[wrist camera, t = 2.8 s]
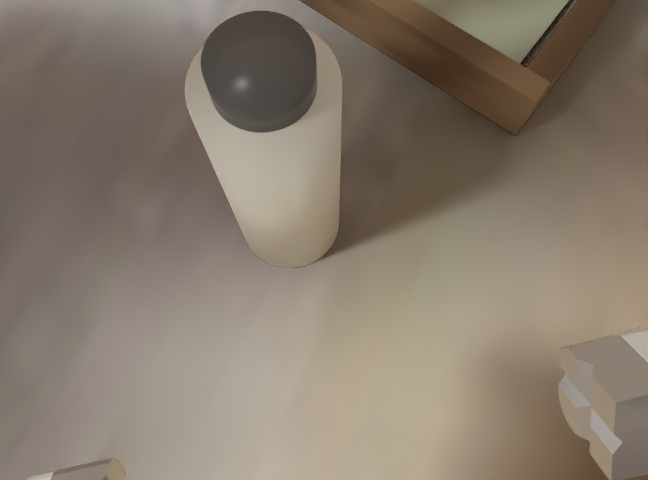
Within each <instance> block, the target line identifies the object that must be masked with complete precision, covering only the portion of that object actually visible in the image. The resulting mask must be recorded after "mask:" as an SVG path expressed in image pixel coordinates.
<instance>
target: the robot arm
mask: <svg viewBox="0 0 648 480" xmlns="http://www.w3.org/2000/svg"><path fill="white" fill-rule="evenodd" d="M558 366H559V367H560V368H561V370H562V371H563V372H564V373H565V375H564V377H563V378H562V380H561V381H560V383H559V384H558V393H559V402H560V405H561V409H562V412H563V415H564V417H565V419H566V421H567V422H568V424H569V426H570V427H571V429H572V430H573V431H574V433H575V434H576V435H577V436H579V437H581V438H584V439H586V440H588V441H590V455H591V456H592V458H593V459H594V460H595V462H596V463H597V464H598V466H599V467H600V468H601V470H602V471H603V472H604V474H605V475H606V476H607V478H608V479H609V480H625V479H629V478H634V477H638V476H643V475H647V474H648V331H647V330H646V329H643V328H640V327H639V328H635V329H631V330H627V331H624V332H620V333H616V334H613V335H611V336H606V337H602V338H598V339H594V340H590V341H586V342H582V343H578V344H574V345H570V346H567V347H563V348H561V349H560V352H559V354H558ZM124 477H125V471H124V469H123V467H122V465H121V463H120V461H119V459H116V458H110V459H105V460H100V461H96V462H91V463H87V464H82V465H78V466H73V467H69V468H64V469H60V470H57V471H54V472H49V473H44V474H40V475H35V476H30V477H28V478H27V479H26V480H124Z"/></svg>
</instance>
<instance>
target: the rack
mask: <svg viewBox="0 0 648 480" xmlns="http://www.w3.org/2000/svg"><path fill="white" fill-rule="evenodd" d="M300 1H301V2H303V3H305V4H306V5H308V6H309V7H311V8H313V9H314V10H316V11H317V12H319V13H320V14H322V15H324V16H325V17H327V18H328V19H330V20H332V21H333V22H335V23H336V24H338V25H340V26H341V27H343V28H344V29H346V30H348V31H349V32H351V33H352V34H354V35H356V36H357V37H359V38H360V39H362V40H364V41H365V42H367V43H368V44H370V45H372V46H373V47H375V48H376V49H378V50H379V51H381V52H383V53H384V54H386V55H387V56H389V57H391V58H392V59H394V60H395V61H397V62H399V63H400V64H402V65H403V66H405V67H407V68H408V69H410V70H411V71H413V72H415V73H416V74H418V75H419V76H421V77H423V78H424V79H426V80H427V81H429V82H431V83H432V84H434V85H435V86H437V87H439V88H440V89H442V90H443V91H445V92H446V93H448V94H450V95H451V96H453V97H454V98H456V99H458V100H459V101H461V102H462V103H464V104H466V105H467V106H469V107H470V108H472V109H474V110H475V111H477V112H478V113H480V114H482V115H483V116H485V117H486V118H488V119H490V120H491V121H493V122H494V123H496V124H498V125H499V126H501V127H502V128H504V129H505V130H507V131H509V132H510V133H512V134H513V135H515V136H516V135H517V133H518V132H519V130H520V129H521V128H522V126H523V125H524V124H525V122H526V121H527V120H528V118H529V117H530V116H531V114H532V113H533V112H534V110H535V109H536V108H537V106H538V105H539V104H540V102H541V101H542V100H543V98H544V97H545V96H546V94H547V93H548V92H549V90H550V89H551V88H552V86H553V85H554V84H555V82H556V81H557V79H558V78H559V77H560V75H561V74H562V73H563V71H564V70H565V69H566V67H567V66H568V65H569V63H570V62H571V61H572V59H573V58H574V57H575V55H576V54H577V53H578V51H579V50H580V49H581V47H582V46H583V45H584V43H585V42H586V41H587V39H588V38H589V37H590V35H591V34H592V32H593V31H594V30H595V28H596V27H597V26H598V24H599V23H600V22H601V20H602V19H603V18H604V16H605V15H606V14H607V12H608V11H609V10H610V8H611V7H612V6H613V4H614V3H615V2H616V0H578V1H577V3H576V4H575V5H574V7H573V8H572V9H571V11H570V12H569V13H568V15H567V16H566V17H565V18H564V20H563V21H562V22H561V24H560V25H559V26H558V28H557V29H556V30H555V31H554V33H553V34H552V35H551V37H550V38H549V39H548V41H547V42H546V43H545V44H544V46H543V47H542V48H541V50H540V51H539V52H538V54H537V55H536V56H535V57H534V59H533V60H532V61H531V63H530V64H529V65H528V67H527V68H526V67H524V66H522V65H521V63H522V61H523V60H524V59H525V58H526V56H527V55H528V54H529V52H530V51H531V50H532V49H533V47H534V46H535V45H536V43H537V42H538V41H539V40H540V38H541V37H542V36H543V34H544V33H545V32H546V30H547V29H548V28H549V27H550V25H551V24H552V23H553V21H554V20H555V19H556V18H557V16H558V15H559V14H560V12H561V11H562V10H563V8H564V7H565V6H566V5H567V3H568V2H569V1H570V0H300Z"/></svg>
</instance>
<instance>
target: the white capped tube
mask: <svg viewBox="0 0 648 480" xmlns="http://www.w3.org/2000/svg"><path fill="white" fill-rule="evenodd" d="M342 85H343V84H342V74H341V70H340V66H339V64H338V61H337V59H336V57H335V55H334V53H333V52H332V50H331V49H330V48H329V46H328V45H327V44H326V43H325V42H324V41H323V40H322V39H321V38H320V37H319V36H317V35H316V34H314V33H313V32H312V31H310V30H308V29H306V28H304V27H302V26H301V25H300V24H299V23H297V22H296V21H295V20H293V19H291V18H289V17H287V16H285V15H283V14H279V13H276V12H270V11H252V12H246V13H242V14H239V15H236V16H234V17H232V18H230V19H228V20H226V21H225V22H223V23H222V24H220V25H219V26H218V27H217V28H216V29H215V30H214V31H213V32H212V33H211V34H210V36H209V37H208V39H207V40H206V42H205V44H204V45H203V46H202V48H201V49H200V50H199V51H198V52H197V54H196V56H195V57H194V59H193V60H192V62H191V65H190V67H189V69H188V72H187V76H186V81H185V100H186V105H187V108H188V112H189V114H190V116H191V119H192V121H193V123H194V125H195V128H196V130H197V132H198V134H199V137H200V139H201V141H202V143H203V146H204V148H205V150H206V152H207V155H208V157H209V159H210V161H211V164H212V166H213V168H214V170H215V173H216V175H217V177H218V179H219V182H220V184H221V186H222V188H223V191H224V193H225V195H226V197H227V200H228V202H229V204H230V206H231V209H232V211H233V213H234V215H235V218H236V220H237V222H238V224H239V227H240V229H241V231H242V233H243V236H244V238H245V240H246V242H247V244H248V246H249V247H250V249H251V250H252V251H253V252H254V254H255V255H256V256H258V257H259V258H260V259H262V260H263V261H265V262H267V263H269V264H271V265H274V266H277V267H282V268H297V267H302V266H305V265H308V264H311V263H313V262H315V261H316V260H318V259H319V258H321V257H322V256H323V255H324V254H325V253H326V252H327V251H328V250H329V249H330V248H331V246H332V245H333V243H334V241H335V239H336V236H337V233H338V229H339V209H340V167H341V126H342Z"/></svg>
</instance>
